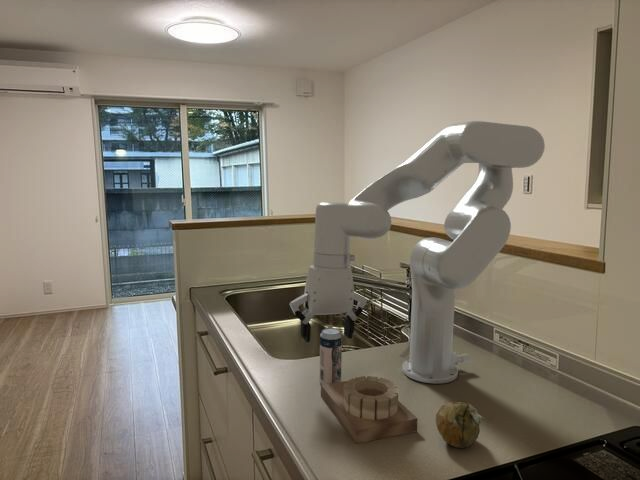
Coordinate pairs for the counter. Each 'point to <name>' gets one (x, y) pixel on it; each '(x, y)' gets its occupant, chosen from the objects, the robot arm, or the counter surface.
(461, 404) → the onion
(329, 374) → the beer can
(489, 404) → the counter surface
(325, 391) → the board
